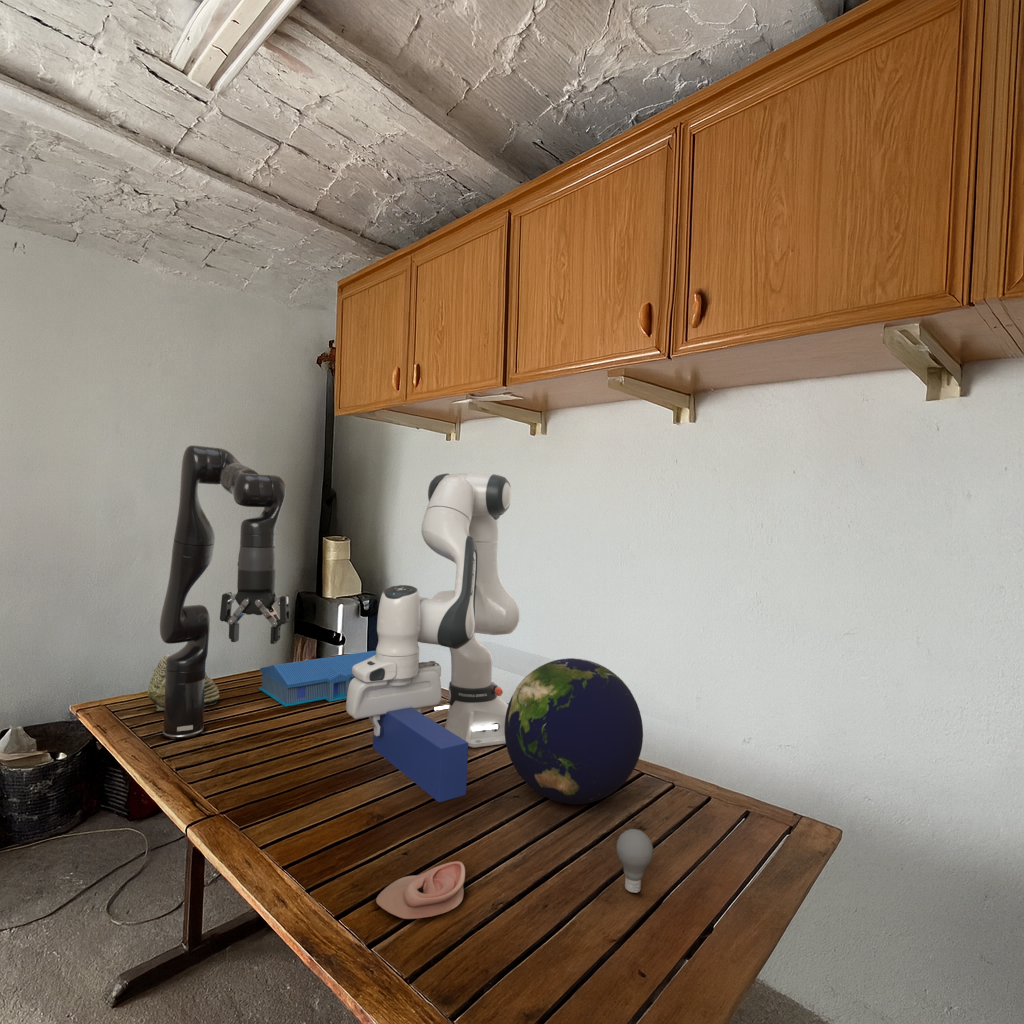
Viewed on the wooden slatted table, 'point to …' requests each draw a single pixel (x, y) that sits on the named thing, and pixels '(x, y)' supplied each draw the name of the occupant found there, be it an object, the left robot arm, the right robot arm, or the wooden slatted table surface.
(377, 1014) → the wooden slatted table surface
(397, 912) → the anatomical model
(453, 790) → the bar
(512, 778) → the wooden slatted table surface
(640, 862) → the light bulb
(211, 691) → the fossil
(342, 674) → the model building
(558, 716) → the globe
